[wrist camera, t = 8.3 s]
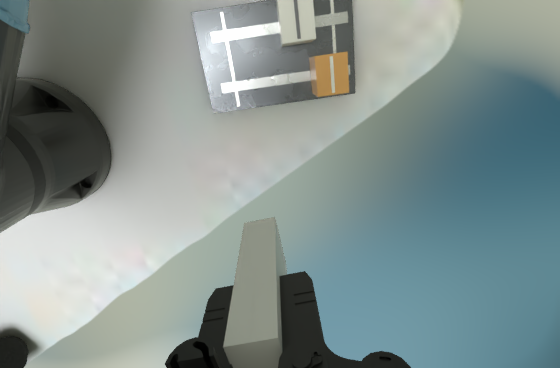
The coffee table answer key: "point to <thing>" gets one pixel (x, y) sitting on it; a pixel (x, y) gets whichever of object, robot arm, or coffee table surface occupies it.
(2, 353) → the camera
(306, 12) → the fader white
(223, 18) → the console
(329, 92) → the fader orange
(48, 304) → the coffee table surface
